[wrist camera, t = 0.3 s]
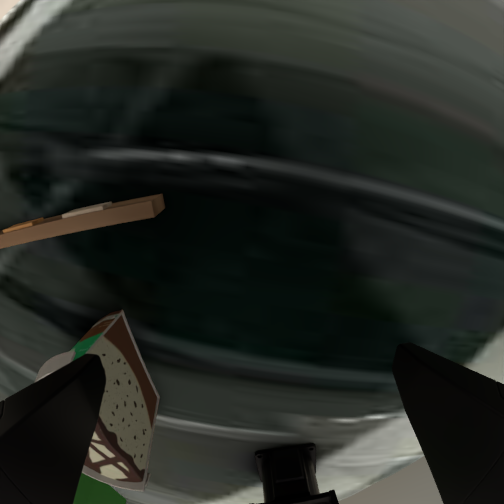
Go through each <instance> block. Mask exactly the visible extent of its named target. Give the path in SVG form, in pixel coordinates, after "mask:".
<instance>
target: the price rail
mask: <svg viewBox="0 0 504 504" xmlns="http://www.w3.org/2000/svg"><path fill="white" fill-rule="evenodd" d="M163 209H165V204H164V199H163V194H158V195H152V196H147V197H142V198H136V199H131V200H126V201H121V202H116V203H112V202H106V203H102V204H97V205H93V206H88V207H84V208H79V209H75V210H72V211H69V212H67V213H65V214H62V215H58V216H54V217H50V218H46V219H43V217H42V218H38V219H35V220H31V221H27V222H23V223H20V224H16V225H13V226H11V227H9V228H7V229H4V230H1V231H0V249H1V248H5V247H9V246H14V245H18V244H22V243H27V242H31V241H36V240H40V239H45V238H49V237H54V236H59V235H64V234H68V233H73V232H78V231H83V230H88V229H93V228H98V227H104V226H109V225H114V224H120V223H125V222H131V221H136V220H142V219H147V218H153V217H155V216H157V215H158V214H159V213H160V212H161V211H162V210H163Z"/></svg>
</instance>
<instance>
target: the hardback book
mask: <svg viewBox="0 0 504 504" xmlns="http://www.w3.org/2000/svg"><path fill="white" fill-rule="evenodd" d="M125 503H126V499H125V498H124V497H122V496H121V495H120V494H119V493H118V492H116V491H115V490H114V489H113V488H112V487H111V486H109V485H108V484H106V483H104V482H101V481H98V480H96V479H94V478H92V477H90V476H88V475H86V474H84V473H81V477H80V480H79V484H78V487H77V491H76V495H75V498H74V502H73V504H125Z"/></svg>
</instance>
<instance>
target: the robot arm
mask: <svg viewBox="0 0 504 504" xmlns="http://www.w3.org/2000/svg"><path fill="white" fill-rule="evenodd" d="M392 372H393V375H394V378H395V381H396V384H397V387H398V390H399V393H400V396H401V400H402V403H403V406H404V409H405V411H406V414H407V416H408V418H409V421H410V423H411V425H412V427H413V430H414V432H415V434H416V437H417V439H418V441H419V444H420V446H421V448H422V451H423V453H424V455H425V458H426V460H427V463H428V465H429V467H430V470H431V472H432V475H433V477H434V480H435V482H436V485H437V488H438V490H439V493H440V495H441V498H442V501H443V503H444V504H504V384H502V383H500V382H496V381H495V380H493V379H491V378H488V377H486V376H484V375H482V374H479V373H477V372H475V371H473V370H470V369H468V368H466V367H464V366H462V365H459V364H457V363H455V362H453V361H450V360H448V359H446V358H444V357H442V356H439V355H437V354H435V353H433V352H431V351H428V350H426V349H424V348H422V347H420V346H417V345H415V344H413V343H410V342H409V343H402V344H399V345H398V346H397V349H396V353H395V357H394V361H393V365H392ZM105 386H106V374H105V371H104V368H103V365H102V362H101V359H100V357H99V355H97V354H89V353H87V354H84V355H82V356H81V357H79V358H77V359H75V360H74V361H72V362H70V363H68V364H67V365H65V366H63V367H61V368H59V369H58V370H56V371H54V372H52V373H51V374H49V375H47V376H45V377H44V378H42V379H40V380H38V381H36V382H35V383H33V384H31V385H29V386H28V387H26V388H24V389H22V390H21V391H19V392H17V393H15V394H13V395H12V396H10V397H8V398H6V399H5V401H4V400H3V401H1V402H0V504H73V502H74V498H75V495H76V491H77V487H78V484H79V480H80V477H81V473H82V470H83V466H84V463H85V460H86V457H87V453H88V450H89V447H90V444H91V441H92V438H93V434H94V431H95V428H96V425H97V422H98V417H99V413H100V408H101V403H102V399H103V394H104V390H105ZM255 460H256V464H257V468H258V472H259V476H260V480H261V482H263V493H264V503H258V504H339V503H338V500H337V497H336V494H335V491H334V490H330V491H329V492H325V493H319V489H318V484H317V480H316V475H315V473H316V446H315V444H307V445H301V446H295V447H289V448H282V449H274V450H267V451H258V452H256V453H255ZM251 504H254V503H251Z"/></svg>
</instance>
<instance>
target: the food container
mask: <svg viewBox="0 0 504 504" xmlns="http://www.w3.org/2000/svg"><path fill="white" fill-rule="evenodd" d="M87 353H89V354H97V355H99V357H100V359H101V362H102V365H103V368H104V371H105V374H106V386H105V390H104V394H103V399H102V403H101V408H100V413H99V417H98V422H97V425H96V428H95V431H94V434H93V438H92V441H91V444H90V447H89V450H88V453H87V457H86V460H85V463H84V466H83V470H82V473H84V474H86V475H88V476H90V477H92V478H94V479H96V480H98V481H101V482H104V483H106V484H109V485H112V486H116V487H119V488H123V489H129V490H135V491H144V489H145V486H146V487H147V484H148V481H149V478H150V476H151V474H150V473H147V470H148V464H149V457H150V451H151V445H152V439H153V433H154V427H155V421H156V416H157V410H158V405H159V399H160V396H159V394H158V392H157V390H156V388H155V386H154V384H153V381H152V379H151V377H150V375H149V373H148V370H147V368H146V366H145V363H144V361H143V359H142V356H141V354H140V352H139V349H138V347H137V345H136V342H135V340H134V337H133V335H132V332H131V330H130V327H129V325H128V322H127V319H126V317H125V314H124V311H123V310H119V311H115V312H111V313H109V314H108V315H106V316H105V317H103V318H102V319H100V320H98V322H97V323H96V324H95V325H94V326H93V327H92V328H91V329H90V330H89V331H88V332H87V333H86V334H85V335H84V336H83V337H82V338H81V339H80V341H79V342H78V343H77V344H76V345H75V346H74V347H73V348H72V349H71V350H70V351H69V352H66V353H62V354H59V355H57V356H54V357H52V358H51V359H49V360H48V361H47V362H45V363H44V365H43V366H42V367H41V368H40V370H39V373H38V375H37V377H36V380H35V382H36V381H38V380H40V379H42V378H44V377H45V376H47V375H49V374H51V373H52V372H54V371H56V370H58V369H59V368H61V367H63V366H65V365H67V364H68V363H70V362H72V361H74V360H75V359H77V358H79V357H81V356H82V355H84V354H87Z"/></svg>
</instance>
